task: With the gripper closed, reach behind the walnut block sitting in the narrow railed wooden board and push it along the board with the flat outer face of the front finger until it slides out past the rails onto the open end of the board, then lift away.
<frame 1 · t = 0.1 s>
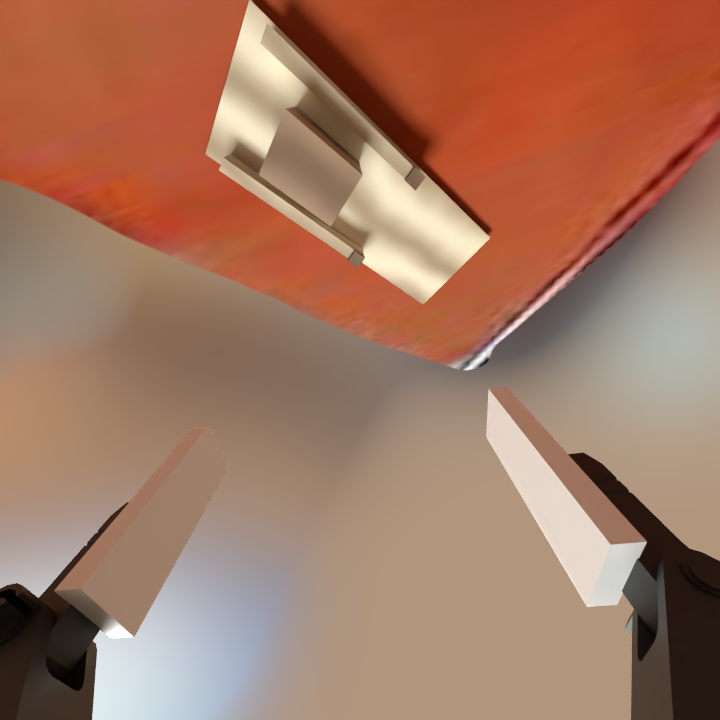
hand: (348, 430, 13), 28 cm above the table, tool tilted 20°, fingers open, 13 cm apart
walnut block: (316, 161, 28), point 1 cm above the table, touching railed wooden board
railed wooden board: (363, 198, 31), on the table
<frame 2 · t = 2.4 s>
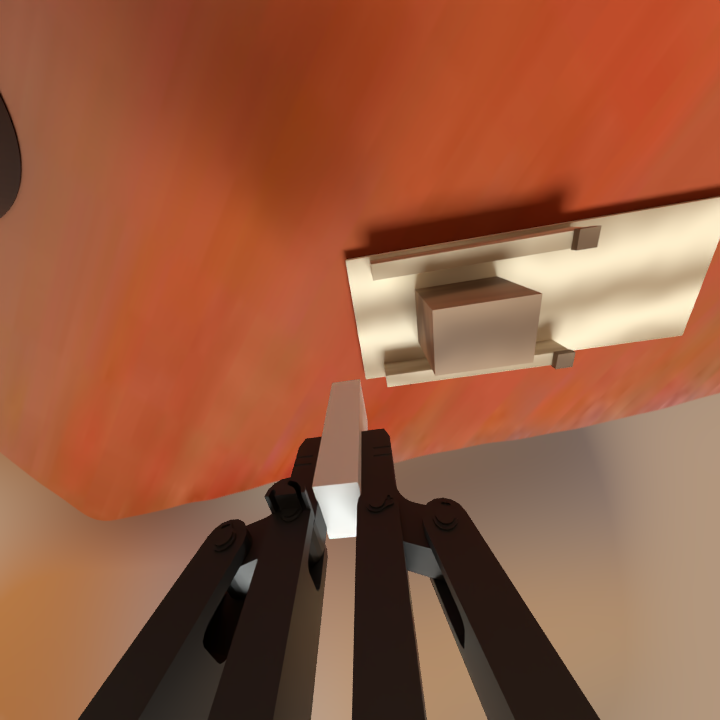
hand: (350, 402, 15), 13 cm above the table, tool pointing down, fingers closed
walnut block: (455, 310, 25), point 1 cm above the table, touching railed wooden board
railed wooden board: (518, 297, 25), on the table
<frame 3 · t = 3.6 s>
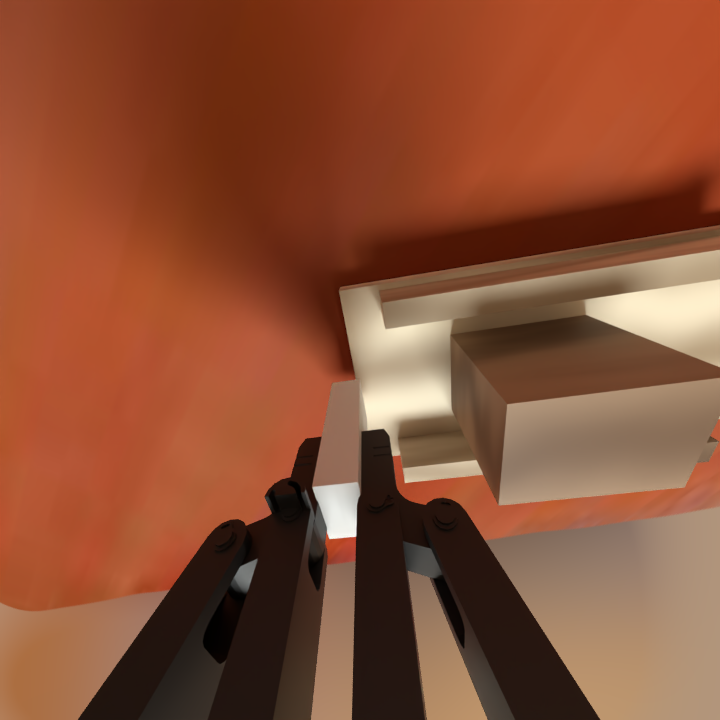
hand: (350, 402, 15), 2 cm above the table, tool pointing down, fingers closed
walnut block: (513, 366, 16), point 1 cm above the table, touching railed wooden board
railed wooden board: (610, 344, 16), on the table
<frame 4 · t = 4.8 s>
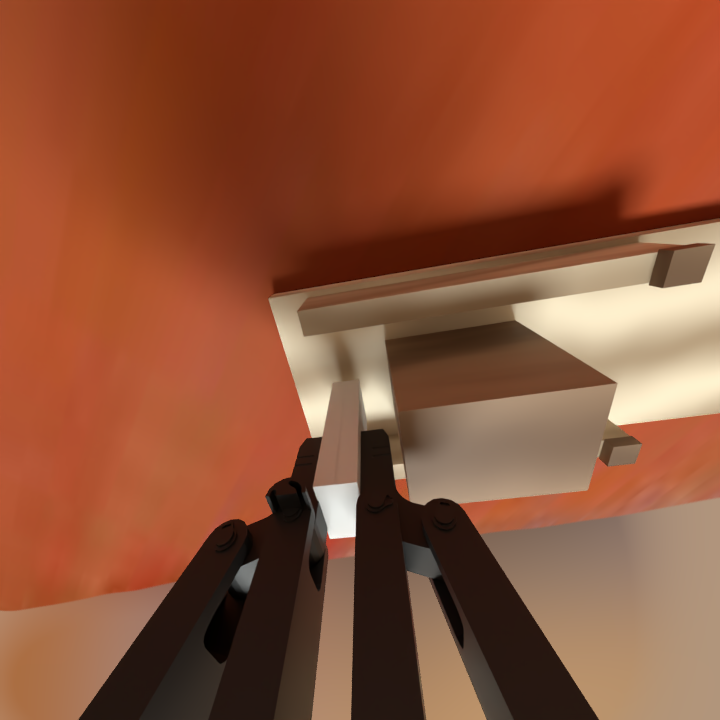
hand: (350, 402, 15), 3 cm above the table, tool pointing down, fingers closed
walnut block: (449, 370, 16), point 1 cm above the table, touching gripper
railed wooden board: (544, 348, 16), on the table
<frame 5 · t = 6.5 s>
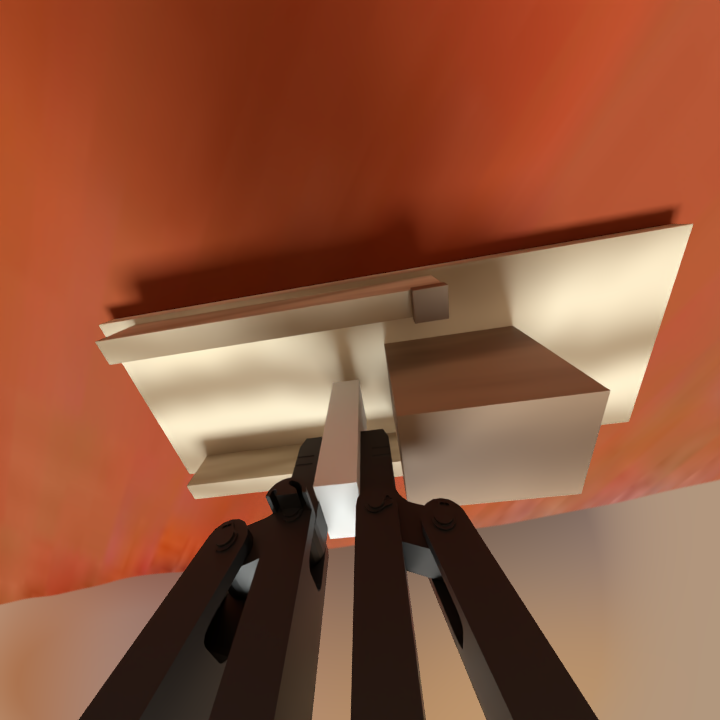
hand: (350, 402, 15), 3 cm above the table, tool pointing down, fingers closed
walnut block: (448, 374, 16), point 1 cm above the table, touching gripper
railed wooden board: (383, 369, 17), on the table
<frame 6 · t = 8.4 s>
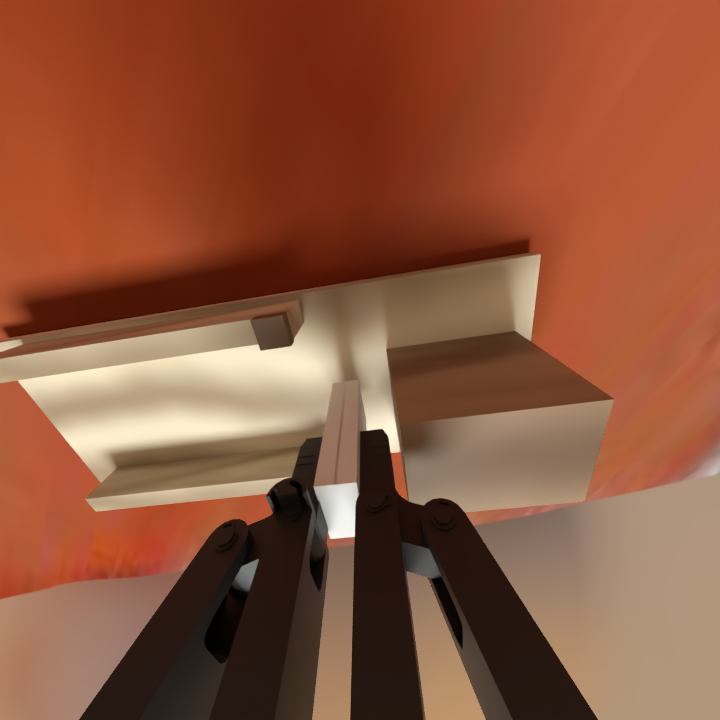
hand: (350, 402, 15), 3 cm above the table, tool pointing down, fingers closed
walnut block: (450, 379, 16), point 1 cm above the table, touching railed wooden board, gripper
railed wooden board: (278, 386, 18), on the table
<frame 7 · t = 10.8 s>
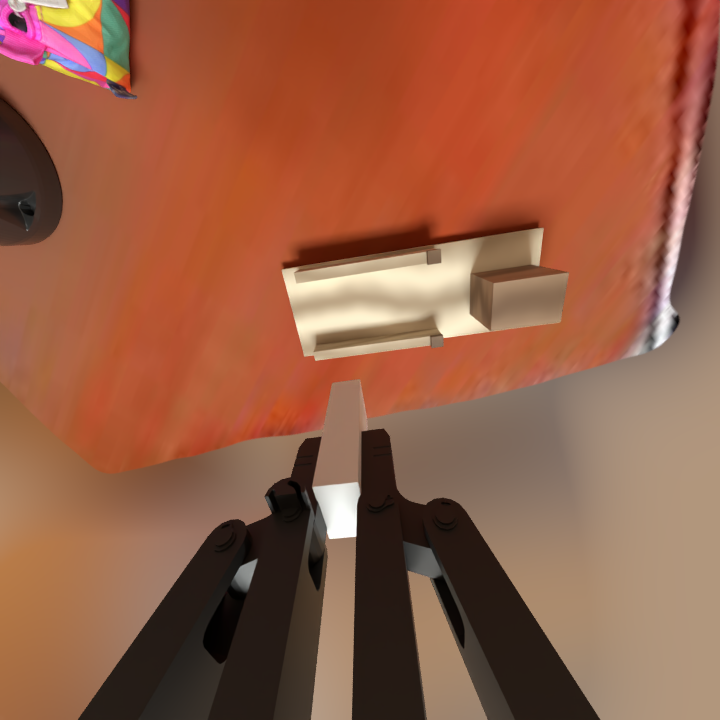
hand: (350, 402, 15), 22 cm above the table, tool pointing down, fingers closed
walnut block: (499, 290, 33), point 1 cm above the table, touching railed wooden board
railed wooden board: (410, 297, 35), on the table
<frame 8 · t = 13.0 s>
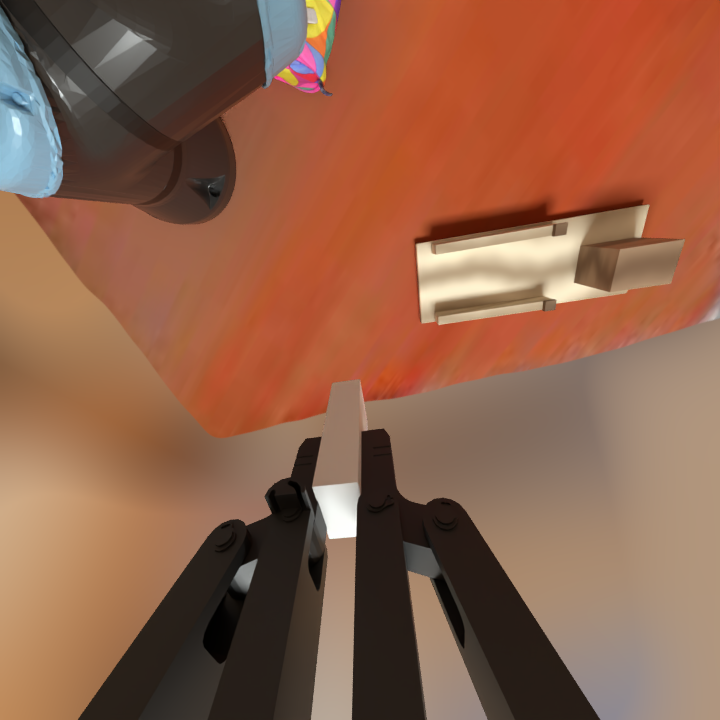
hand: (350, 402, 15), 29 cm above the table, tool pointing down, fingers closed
walnut block: (602, 260, 38), point 1 cm above the table, touching railed wooden board
railed wooden board: (521, 268, 40), on the table
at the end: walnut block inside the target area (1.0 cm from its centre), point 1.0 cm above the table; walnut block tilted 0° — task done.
